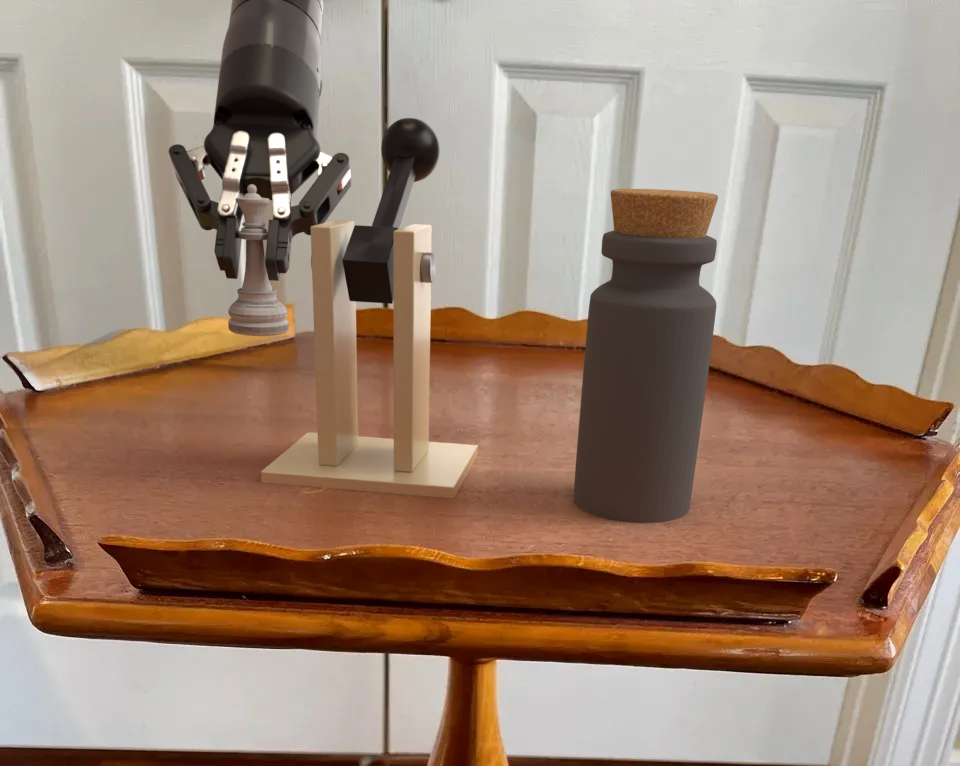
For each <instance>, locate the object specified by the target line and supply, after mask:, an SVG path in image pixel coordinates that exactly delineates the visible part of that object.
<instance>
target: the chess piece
mask: <svg viewBox="0 0 960 766" xmlns="http://www.w3.org/2000/svg"><path fill="white" fill-rule="evenodd" d="M247 190H248V192H249V193H247V194H246V195H244V197H237V198H236V200H235V201H236V202H237V204H238V205H239V207H240V208H241V210H242V212H243V215H244V221H243V224H242V228H241V231H238V232H237V236H238V238H239V239H242V240H245V268H244V269H245V271H244V276H243V281H242V286H241V287H240V288H237V291H236V292H237V295H238V297H237V299H236V300H234V302H232V303H231V305H230V306H229V308H228V310H227V311H228V312H227V313H228V315H229V317H230V318H229V320H228V321H227V323H228V326H227V327H228V330H229V331H230V332H231V333H233V334H236V335H240V336H250V337H269V336H271V337H272V336H280V335H284V334H287V333H288V332H289V330H290V322H289V320H288V319H287V317H288V314H289V313H288V309H287V308H286V306H285V305H284V304H283V303H282V302H280V301H279V299H278V297H277V291H278V290H277V289H275V288H273V287H272V285H271V282H270V281H271V280H269V279H268V275H267V270H266V265H265V257H266V254H265V247H264V241H267V236H268V229H267V228H265V227H266V223H264V222H263V220H264V213H265V211H266V208H267V207H268V206H269V204H270V203H271V202H270V201H271V200H269V199H268V198H261V196H260V195H258V194H257V193H256V192H257V188H256V186H255V185H253V184H250V185H249V186H248V188H247Z"/></svg>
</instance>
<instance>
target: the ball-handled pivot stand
mask: <svg viewBox="0 0 960 766" xmlns="http://www.w3.org/2000/svg"><path fill="white" fill-rule="evenodd" d="M355 225H356V223H355V221H354V220H343V219H342V220H341V219H335V220H331V221H328V222H327V221H326V222H325V223H323V224H319V225H315V226H311V235H310V249H311V250H310V251H311V254H310V268H311V282H312V310H313V337H314V339H313V340H314V370H315V371H314V372H315V392H316V393H315V397H316V399H315V400H316V401H315V402H316V428H317V431H316V432H308V431H307V432H306V433H305V434H304V435H303V436H301V437H300V438H299V439H298V440H297V441H296V442H294V443H293V444H292V445H291V446H289V447H288V448H287V449H285V451H284V452H282V453H281V454H280V455H279V456H278V457H277V458H275V459H274V460H273V461H271V463H269V464H268V465H267V466H265V467H264V468H263V469H262V470H261V471H260V482H261V483H262V484H275V485H285V486H297V487H309V488H321V489H333V490H334V489H335V490H346V491H358V492H370V493H379V494H380V493H382V494H395V495H404V496H405V495H406V496H418V497H429V498H439V499H440V498H442V499H455V497H456V496H457V493H458V492H459V491H460V488H461V487H462V484H463V483H464V481H465V479H466V477H468V474H469V472H470V470H471V469H472V467H473V465H474V464H475V461H476V459H477V457H478V455H479V446H478V445H477V444H467V443H453V442H452V443H451V442H439V441H430V440H429V439H430V438H429V437H430V436H429V435H430V379H431V378H430V377H431V376H430V375H431V374H430V372H431V371H430V369H431V310H432V309H431V304H432V303H431V302H432V301H431V300H432V283H434V281H435V277H436V255H435V253H434V252H432V241H433V240H432V239H433V238H432V234H433V226H432V225H431V224H421V223H413V224H410V225H407V226H405V227H404V226H403V227H402V228H401V227H400V228H399V229H398V230H395V231H394V300H393V438H390V437H389V438H386V437H373V436H362V435H361V436H360V435H359V418H358V417H359V416H358V415H359V414H358V412H359V411H358V410H359V409H358V356H357V355H358V354H357V353H358V352H357V302H355V301H350V300H349V295H348V289H347V284H346V278H345V273H344V267H343V261H342V260H343V257H344V254H345V251H346V248H347V246H348V243H349V240H350V237H351V234H352V231H353V229H354V226H355Z"/></svg>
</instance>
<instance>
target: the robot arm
mask: <svg viewBox="0 0 960 766" xmlns="http://www.w3.org/2000/svg"><path fill="white" fill-rule="evenodd" d="M324 4H325V3H324V0H231V6H230V14H229V21H228V22H229V23H228V28H227V30H226V34H225V37H224V40H223V45H222V50H221V59H220V64H219V65H220V66H219V75H218V81H217V82H218V83H217V91H216V99H215V108H214V116H213V125H212V128H211V130H210V131H209V132H208V134H207V135H206V136H205V138H204V141H203V145H202V146H198V147H195V148H192V149H189V150H187V149H186V147H185V146H184V145H182V144H178V143H176V144H173V145H171V146H170V147H169V149H168V154H169V157H170V161H171V164H172V167H173V171H174V174H175V177H176V179H177V182H178V184H179V186H180V189H181V190H182V192H183V194H184V196H185V198H186V200H187V202H188V204H189V206H190V208H191V210H192V213H193V214H194V216H195V218H196V220H197V222H198V225H199V227H200V228H201V229H202V230H204V231H212V230H215V231H216V233H215V241H214V249H213V250H214V255H215V259H216V263H217V265H218V268H219V271H221V272H222V271H223V272H224V274H225V277H226V279H228V280H229V279H230V280H237V279H238V277H239V270H240V269H239V268H240V258H241V250H242V240H243V239H239V238H238V236H237V232H238V231H241V229H242V228H243V222H244V221H245V219H244V215H243V212H242V210H241V208H240V207H239V205H238V204H237V202H236V201H235V200H236V198H237V197H244V195H246V194H247V193H249V192H248V190H247V188H248V186H249V185H250V184H253V185H255V186H256V188H257V192H256V193H257V194H258V195H260V196H261V198H268V199H269V201H272V202H271V203H272V219H268V224H267V225H268V227H267V232H268V236H267V240H266V245H265V246H266V247H265V265H266V270H267V275H268V279H269V281H273V282H275V281H276V282H279V281H280V276H281V274H287V272H288V271H289V269H290V263H291V250H292V241H293V239H294V237H295V236H296V235H298V234H301V233H304V234H305V235H307V236H311V226H315V225H319V224H323V223H326V222H327V220H328V219H329V217H330V216H331V215H332V213H333V212H334V210H335V209H336V208H337V207H338V205H339V203H340V202H341V201H342V199H343V198H344V197H345V195H347V192H348V191H349V190H350V188H351V186H352V174H351V165H350V164H351V163H350V156H349V155H348V154H347V153H344V152H336V153H335V154H334V155H333V156H332V155H329V154H328V153H325V152H323V151H321V145H320V143H319V141H318V140H317V139H318V138H317V137H318V124H319V123H318V121H319V111H320V100H321V99H320V97H321V95H322V91H323V80H322V76H323V75H322V73H323V72H322V71H323V64H322V63H323V62H322V52H321V51H322V50H321V46H322V34H323V21H324V20H323V19H324V8H325V7H324V6H325V5H324ZM209 165H210V166H211V168H213V170H214V171H215V172H216V174H217V175H218V176H219V178H220V179H221V186H222V187H221V188H222V189H221V193H220V197H219V201H218V202H217V201H214V200H211V198H210V195H209V193H208V192H207V189H206V187H205V185H204V179H205V178H206V176H207V173H206V169H207V167H208V166H209ZM316 172H317V178H316V179H315V180H314V182H313V183H312V184H311V186H310V188H308V189H307V191H306V193H305V194H304V196H303V197H302V198H301V199H300V201H299V203H298V204H296V205H294V201H293V199H294V198H293V194H294V193H295V192H296V191H298V189H300V187H302V185H304V184H305V183H306V182H307V181H308V180H309V179H310V178H312V176H313V175H314V174H315V173H316Z"/></svg>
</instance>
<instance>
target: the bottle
mask: <svg viewBox="0 0 960 766" xmlns="http://www.w3.org/2000/svg"><path fill="white" fill-rule="evenodd" d="M718 200H719V196H718V195H717V194H715V193H710V192H703V191H693V190H692V191H691V190H677V189H676V190H675V189H659V188H657V189H656V188H614V189H611V190H610V202H611V211H612V213H611V214H612V221H613V230H611V231H607V232H605V233H603V235H602V239H601V255H602V256H603V257H605V258H607V259H609V260H611V261H612V270H611V277H610V279H609V280H608V281H606V282H603V283H602V284H600V285H599V286H598V287H596V288H595V289H594V290H593V291H592V292H591V293H590V297H589V302H588V311H587V324H586V336H585V347H584V358H583V359H584V360H583V368H582V370H583V371H582V381H581V382H582V383H581V394H580V395H581V396H580V406H579V409H580V410H579V418H578V419H579V420H578V431H577V432H578V433H577V443H576V455H575V456H576V458H575V468H574V482H573V483H574V484H573V499H572V500H573V504H574V506H576V507H577V508H578V509H580V510H581V511H582V512H585V513H587V514H588V515H592V516H595V517H598V518H601V519H606V520H611V521H616V522H623V523H633V524H634V523H636V524H654V523H655V524H656V523H666V522H671V521H675V520H678V519H681V518H683V517H685V516H686V515H687V514H688V513H689V512H690V510H691V509H690V508H691V501H692V495H693V487H694V481H695V480H694V479H695V474H696V473H695V472H696V466H697V459H698V453H699V452H698V451H699V443H700V435H701V429H702V421H703V413H704V406H705V399H706V393H707V384H708V378H709V370H710V364H711V356H712V355H711V354H712V349H713V338H714V331H715V321H716V313H717V300H716V299H715V298H714V296H713V295H712V293H710V292H709V291H708V290H707V289H706V288H704V287H702V285H700V279H701V278H700V277H701V270H702V267H703V266H704V265H707V264H710V263H713V262H714V261H715V258H716V254H717V246H718V242H717V241H718V240H717V239H716V238H714V237H712V236H710V235H707V233H708V231H709V228H710V225H711V221H712V219H713V217H714V213H715V209H716V206H717V203H718Z"/></svg>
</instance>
